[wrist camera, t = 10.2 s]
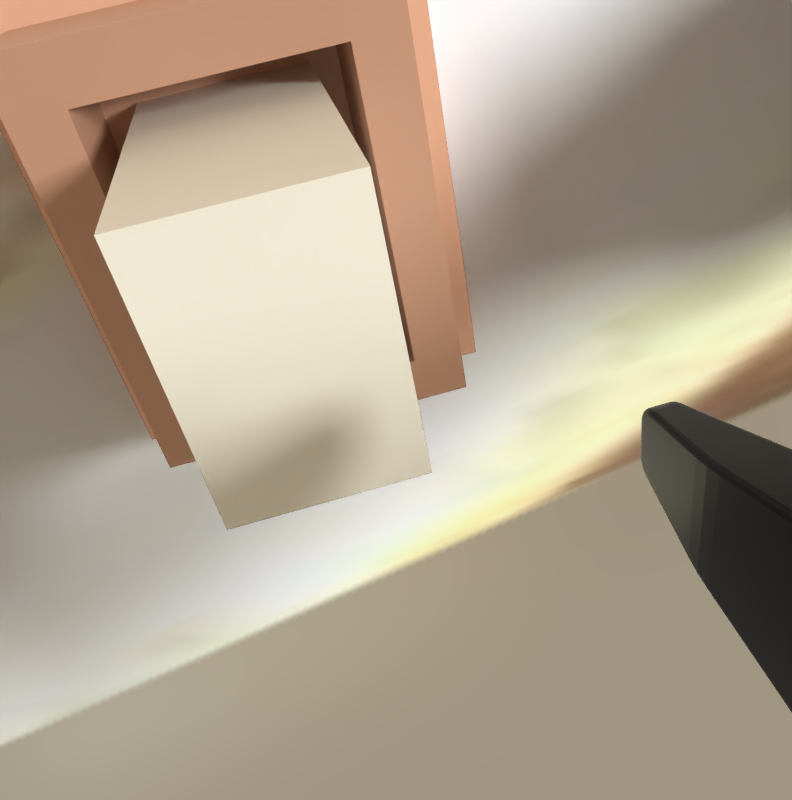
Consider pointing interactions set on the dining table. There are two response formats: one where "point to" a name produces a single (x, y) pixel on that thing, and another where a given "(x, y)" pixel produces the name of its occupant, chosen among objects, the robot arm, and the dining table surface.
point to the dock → (213, 63)
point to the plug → (265, 293)
